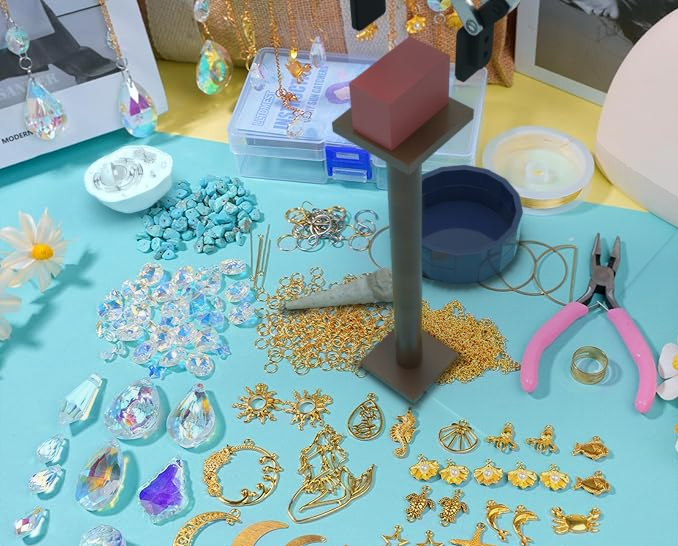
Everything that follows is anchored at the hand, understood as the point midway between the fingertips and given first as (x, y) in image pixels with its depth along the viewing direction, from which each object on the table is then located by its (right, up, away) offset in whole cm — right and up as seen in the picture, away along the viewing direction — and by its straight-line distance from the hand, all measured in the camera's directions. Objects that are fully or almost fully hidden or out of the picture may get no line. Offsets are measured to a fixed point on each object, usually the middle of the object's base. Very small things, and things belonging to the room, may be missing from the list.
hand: (419, 45), depth 60 cm
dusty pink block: (-1, -4, +5) cm, 6 cm away
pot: (+9, -9, +45) cm, 46 cm away
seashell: (-4, -17, +41) cm, 44 cm away
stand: (+2, -24, +35) cm, 42 cm away
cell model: (-33, -2, +54) cm, 63 cm away
